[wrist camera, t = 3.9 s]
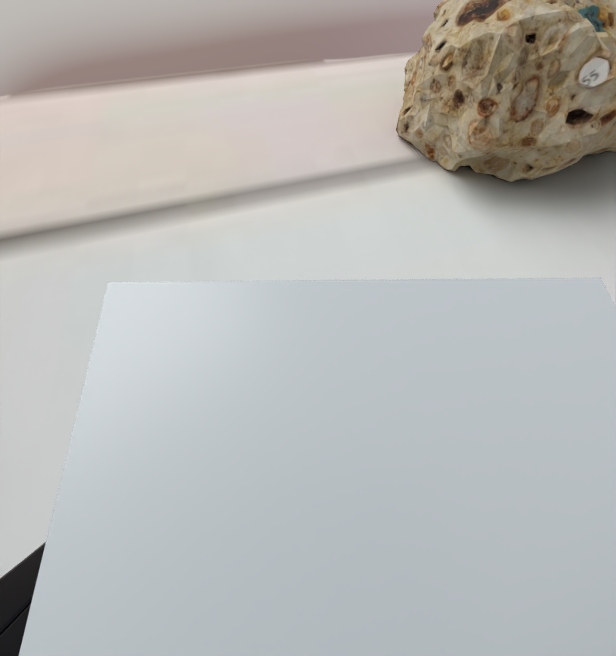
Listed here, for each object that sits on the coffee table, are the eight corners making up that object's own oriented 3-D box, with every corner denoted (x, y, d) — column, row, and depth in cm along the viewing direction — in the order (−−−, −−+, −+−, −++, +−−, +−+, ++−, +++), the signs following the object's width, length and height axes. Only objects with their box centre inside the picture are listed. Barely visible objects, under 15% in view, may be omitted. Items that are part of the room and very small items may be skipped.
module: (389, 559, 13) (948, 943, 2) (233, 572, 12) (-107, 1183, 2) (369, 413, 15) (580, 241, 4) (238, 419, 15) (117, 240, 4)
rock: (526, 63, 32) (654, -82, 23) (603, 189, 30) (778, 86, 21) (350, 76, 25) (432, -128, 16) (436, 242, 23) (588, 120, 14)
